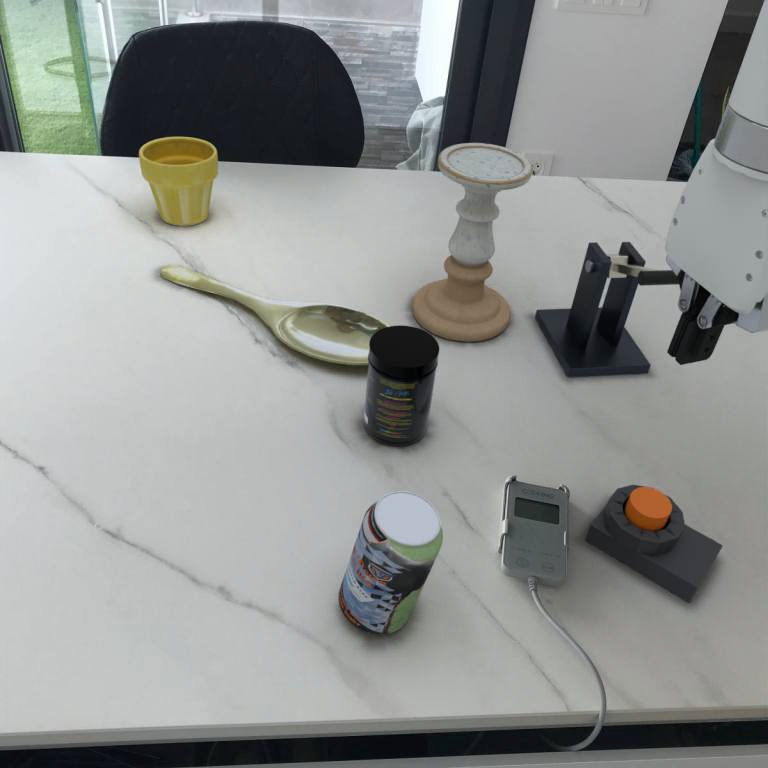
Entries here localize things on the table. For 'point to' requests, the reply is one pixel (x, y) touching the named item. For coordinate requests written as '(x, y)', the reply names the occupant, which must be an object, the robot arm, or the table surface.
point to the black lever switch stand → (596, 321)
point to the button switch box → (655, 546)
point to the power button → (648, 508)
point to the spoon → (298, 320)
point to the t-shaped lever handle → (640, 272)
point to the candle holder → (471, 245)
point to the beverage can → (390, 562)
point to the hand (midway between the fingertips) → (687, 356)
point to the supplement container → (400, 384)
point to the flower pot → (180, 177)
